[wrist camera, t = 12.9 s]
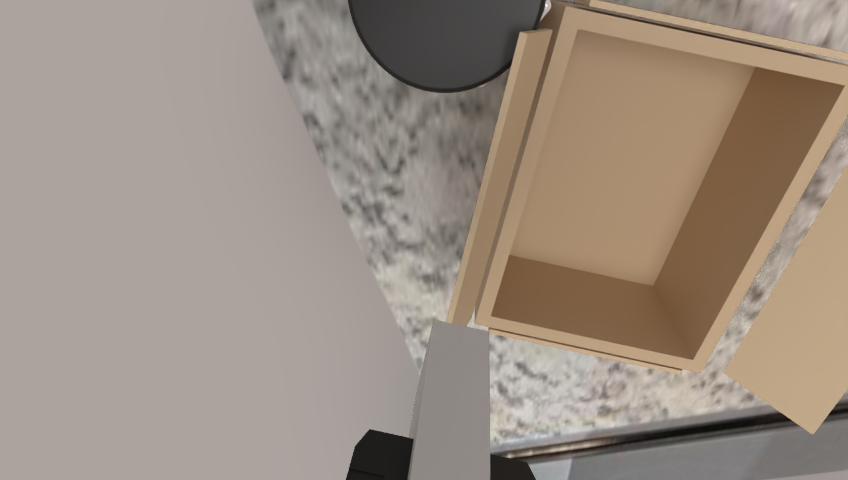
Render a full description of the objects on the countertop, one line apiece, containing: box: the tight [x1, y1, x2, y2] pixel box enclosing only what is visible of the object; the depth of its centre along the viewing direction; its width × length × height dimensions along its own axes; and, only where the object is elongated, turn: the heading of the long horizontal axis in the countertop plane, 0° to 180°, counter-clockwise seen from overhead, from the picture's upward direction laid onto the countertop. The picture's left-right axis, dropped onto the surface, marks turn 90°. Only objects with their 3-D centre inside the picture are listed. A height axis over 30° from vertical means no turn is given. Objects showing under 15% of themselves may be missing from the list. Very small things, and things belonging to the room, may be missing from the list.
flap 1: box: [446, 28, 553, 327], centre depth 25 cm, size 16×5×1 cm
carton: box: [475, 0, 848, 374], centre depth 32 cm, size 19×14×9 cm
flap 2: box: [724, 165, 848, 434], centre depth 25 cm, size 16×5×1 cm
